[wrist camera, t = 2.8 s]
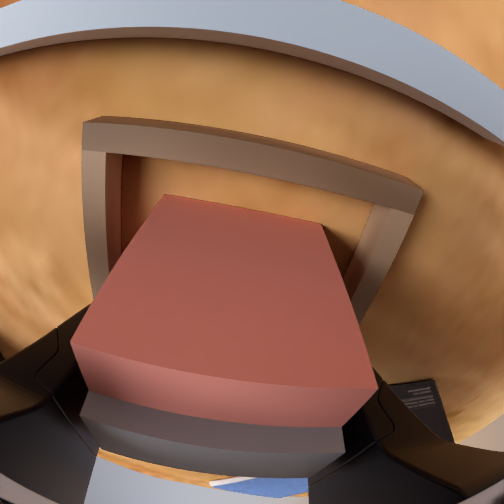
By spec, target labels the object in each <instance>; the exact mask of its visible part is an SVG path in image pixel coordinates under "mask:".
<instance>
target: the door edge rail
mask: <svg viewBox="0 0 504 504" xmlns="http://www.w3.org/2000/svg"><path fill="white" fill-rule="evenodd" d="M131 37H154V38H179V39H193V40H204V41H213V42H221V43H229V44H235V45H242V46H248V47H253V48H259V49H264V50H269V51H274V52H278V53H283V54H287V55H291V56H295V57H299V58H303V59H307V60H310V61H314V62H318V63H321V64H324V65H328V66H331V67H334V68H337V69H340V70H343V71H346V72H349V73H352V74H355V75H358V76H360V77H363V78H366V79H369V80H371V81H374V82H376V83H379V84H381V85H384V86H386V87H389V88H391V89H393V90H396V91H398V92H400V93H402V94H405V95H407V96H409V97H411V98H413V99H415V100H417V101H420V102H422V103H424V104H426V105H428V106H430V107H432V108H433V109H435V110H437V111H439V112H441V113H443V114H445V115H447V116H448V117H450V118H452V119H454V120H456V121H457V122H459V123H461V124H462V125H464V126H466V127H467V128H469V129H471V130H472V131H474V132H476V133H477V134H479V135H480V136H482V137H483V138H486V139H488V140H490V141H493V142H495V143H497V144H499V145H502V146H504V90H502V89H501V88H500V87H499V86H497V85H496V84H495V83H494V82H492V81H491V80H490V79H488V78H487V77H486V76H484V75H483V74H482V73H480V72H479V71H478V70H476V69H475V68H473V67H472V66H471V65H469V64H468V63H466V62H465V61H463V60H462V59H460V58H459V57H457V56H456V55H454V54H452V53H451V52H449V51H448V50H446V49H444V48H443V47H441V46H439V45H438V44H436V43H434V42H432V41H431V40H429V39H427V38H425V37H423V36H422V35H420V34H418V33H416V32H414V31H412V30H410V29H408V28H406V27H404V26H402V25H400V24H398V23H396V22H393V21H391V20H389V19H387V18H384V17H382V16H380V15H378V14H375V13H373V12H370V11H368V10H365V9H363V8H360V7H357V6H355V5H352V4H349V3H346V2H343V1H340V0H21V1H19V2H16V3H13V4H11V5H8V6H6V7H3V8H1V9H0V56H2V55H6V54H10V53H14V52H18V51H22V50H27V49H32V48H36V47H42V46H47V45H53V44H59V43H66V42H74V41H83V40H93V39H107V38H131Z"/></svg>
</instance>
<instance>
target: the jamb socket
mask: <svg viewBox="0 0 504 504" xmlns="http://www.w3.org/2000/svg"><path fill="white" fill-rule="evenodd" d="M123 154H127V155H136V156H144V157H152V158H159V159H167V160H174V161H180V162H187V163H193V164H200V165H206V166H212V167H217V168H223V169H229V170H234V171H239V172H245V173H250V174H255V175H260V176H265V177H269V178H274V179H279V180H283V181H288V182H292V183H297V184H301V185H306V186H310V187H314V188H318V189H322V190H326V191H330V192H334V193H338V194H342V195H346V196H350V197H353V198H357V199H361V200H364V201H368V202H372V203H374V205H373V208H372V211H371V213H370V216H369V218H368V221H367V223H366V226H365V228H364V231H363V233H362V236H361V238H360V241H359V243H358V245H357V248H356V250H355V253H354V255H353V257H352V260H351V262H350V264H349V266H348V269H347V271H346V273H345V275H344V278H343V282H344V285H345V288H346V290H347V293H348V296H349V299H350V301H351V304H352V307H353V310H354V313H355V316H356V319H357V322H358V325H359V323H360V322H361V320H362V318H363V317H364V315H365V313H366V311H367V310H368V308H369V306H370V304H371V302H372V301H373V299H374V297H375V295H376V293H377V291H378V289H379V288H380V286H381V284H382V282H383V280H384V278H385V276H386V274H387V272H388V270H389V268H390V266H391V264H392V262H393V260H394V258H395V256H396V254H397V252H398V250H399V248H400V246H401V243H402V241H403V239H404V237H405V235H406V233H407V230H408V228H409V226H410V223H411V221H412V219H413V217H414V214H415V212H416V209H417V207H418V205H419V202H420V200H421V197H422V195H423V192H424V190H422V189H421V188H420V187H419V186H417V185H416V184H415V183H413V182H412V181H411V180H410V179H408V178H407V177H404V176H402V175H399V174H396V173H393V172H390V171H387V170H384V169H381V168H378V167H375V166H372V165H369V164H366V163H363V162H360V161H356V160H353V159H350V158H346V157H343V156H339V155H336V154H332V153H329V152H325V151H321V150H318V149H314V148H310V147H306V146H302V145H298V144H294V143H290V142H285V141H281V140H276V139H272V138H267V137H263V136H258V135H253V134H248V133H242V132H237V131H231V130H226V129H220V128H214V127H207V126H201V125H194V124H186V123H179V122H170V121H161V120H152V119H141V118H128V117H113V116H101V117H98V118H95V119H92V120H88V121H85V122H83V133H82V200H83V217H84V230H85V241H86V250H87V259H88V267H89V274H90V281H91V287H92V293H93V299H94V298H95V297H96V295H97V293H98V292H99V290H100V288H101V287H102V285H103V283H104V282H105V280H106V279H107V277H108V275H109V274H110V272H111V271H112V269H113V267H114V266H115V264H116V263H117V261H118V260H119V258H120V257H121V255H122V248H121V176H122V156H123Z"/></svg>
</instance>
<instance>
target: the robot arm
mask: <svg viewBox="0 0 504 504" xmlns="http://www.w3.org/2000/svg"><path fill="white" fill-rule="evenodd" d="M90 305H91V304H89V305H88V306H86V307H85V308H84V309H82V310H81V311H79V312H78V313H76V314H75V315H73V316H72V317H71V318H69V319H68V320H66V321H65V322H63V323H62V324H61V325H59V326H58V327H57V328H55V329H53V330H52V331H50V332H49V333H48V334H46V335H45V336H43V337H42V338H40V339H39V340H37V341H36V342H34V343H33V344H31V345H29V346H28V347H26V348H25V349H23V350H21V351H20V352H18V353H16V354H14V355H13V356H11V357H9V358H8V359H6V360H3V359H2V357H1V355H0V504H84V500H85V496H86V492H87V488H88V485H89V481H90V478H91V474H92V470H93V467H94V464H95V460H96V456H97V453H98V450H99V447H100V446H99V445H98V443H97V442H96V440H95V439H94V437H93V436H92V434H91V433H90V431H89V430H88V428H87V427H86V425H85V424H84V422H83V420H82V419H81V417H80V413H81V410H82V407H83V404H84V402H85V399H86V396H87V394H88V391H89V390H88V387H87V385H86V383H85V380H84V378H83V375H82V373H81V370H80V368H79V365H78V363H77V360H76V357H75V355H74V352H73V349H72V346H71V343H70V341H71V339H72V337H73V335H74V333H75V332H76V330H77V328H78V326H79V324H80V323H81V321H82V319H83V317H84V315H85V314H86V312H87V310H88V308H89V307H90ZM372 369H373V372H374V375H375V379H376V382H377V386H378V390H377V391H376V392H375V393H374V394H373V395H372V396H371V397H370V398H369V399H368V401H367V402H366V403H365V404H364V405H363V406H362V407H361V408H360V409H359V410H358V411H357V412H356V413H355V414H354V415H353V416H352V417H351V418H350V419H349V420H348V421H347V422H346V423H345V424H344V425H343V426H342V433H343V439H344V446H345V453H344V454H342V455H341V456H340V457H338V458H337V459H336V460H334V461H333V462H331V463H330V464H329V465H327V466H326V467H324V468H323V469H321V470H320V471H319V472H317V473H316V474H314V475H313V476H311V477H309V478H308V486H309V487H308V494H309V504H504V452H498V451H491V450H485V449H480V448H474V447H469V446H464V445H460V444H455V443H451V442H448V441H445V440H443V439H441V438H440V437H438V436H437V435H436V434H435V433H433V432H432V431H431V430H430V429H429V428H428V427H427V426H426V425H425V424H424V423H423V422H422V421H421V420H420V419H419V418H418V417H417V416H416V415H415V414H414V413H413V412H412V411H411V410H410V409H409V408H408V407H407V406H406V405H405V404H404V403H403V401H402V400H401V399H400V398H399V397H398V396H397V395H396V394H395V393H394V391H393V390H392V389H391V388H390V387H389V386H388V385H387V383H386V382H385V381H384V380H383V379H382V377H381V376H380V375H379V374H378V373H377V372H376V370H375V369H374V368H373V367H372ZM382 380H383V381H382Z"/></svg>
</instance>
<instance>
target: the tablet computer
mask: <svg viewBox="0 0 504 504" xmlns="http://www.w3.org/2000/svg"><path fill="white" fill-rule="evenodd" d="M209 484H210V486H212V487H214V488H218V489H223V490H227V491H233V492H238V493H244V494H250V495H257V496H265V497H273V498H282V497H287V496H292V495H296V494H301V493H305V492H308V487H309V486H308V478H254V477H238V476H237V477H231V478H226V479H220V480H214V481H209Z"/></svg>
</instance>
